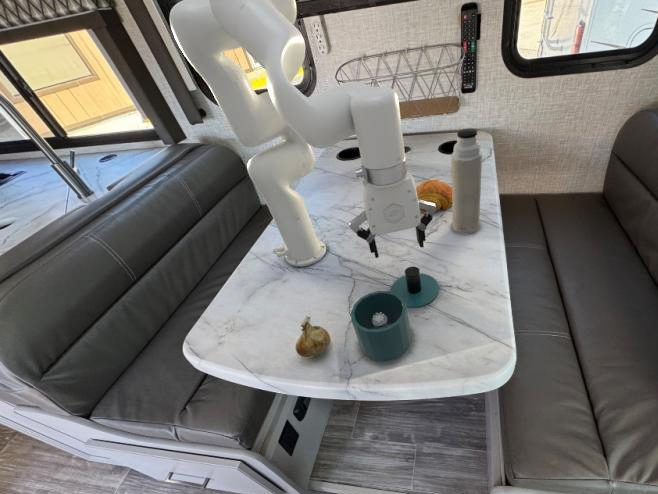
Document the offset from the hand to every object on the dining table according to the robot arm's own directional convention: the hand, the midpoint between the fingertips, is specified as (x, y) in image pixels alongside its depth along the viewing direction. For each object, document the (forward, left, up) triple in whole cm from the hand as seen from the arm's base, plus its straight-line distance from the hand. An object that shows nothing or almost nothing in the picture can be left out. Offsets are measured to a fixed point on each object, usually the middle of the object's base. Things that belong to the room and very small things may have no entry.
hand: (398, 248), depth 71 cm
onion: (-23, -7, -18) cm, 30 cm away
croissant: (+20, +45, -18) cm, 52 cm away
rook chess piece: (-7, -9, -17) cm, 21 cm away
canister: (-7, -10, -17) cm, 21 cm away
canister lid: (+3, +4, -17) cm, 17 cm away
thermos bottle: (+25, +27, -18) cm, 41 cm away
